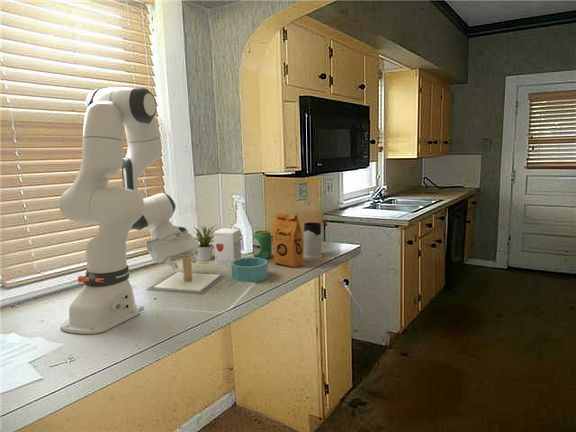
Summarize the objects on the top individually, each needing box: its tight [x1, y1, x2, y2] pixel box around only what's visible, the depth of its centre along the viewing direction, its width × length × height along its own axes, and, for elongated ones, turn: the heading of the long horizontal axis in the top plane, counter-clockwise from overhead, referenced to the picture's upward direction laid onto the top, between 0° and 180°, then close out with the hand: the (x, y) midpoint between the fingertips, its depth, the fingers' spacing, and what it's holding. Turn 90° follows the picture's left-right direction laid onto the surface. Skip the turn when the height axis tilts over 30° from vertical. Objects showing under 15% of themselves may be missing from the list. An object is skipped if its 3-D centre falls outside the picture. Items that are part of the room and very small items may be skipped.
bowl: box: [230, 256, 269, 283], centre depth 163 cm, size 14×14×6 cm
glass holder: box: [303, 221, 324, 259], centre depth 194 cm, size 9×14×15 cm, turn 147°
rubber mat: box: [145, 271, 227, 295], centre depth 156 cm, size 22×22×1 cm
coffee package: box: [272, 212, 304, 269], centre depth 178 cm, size 10×12×22 cm
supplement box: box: [213, 227, 242, 267], centre depth 181 cm, size 9×9×15 cm
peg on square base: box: [153, 255, 221, 292], centre depth 155 cm, size 18×18×10 cm
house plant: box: [192, 224, 219, 262], centre depth 189 cm, size 14×14×16 cm
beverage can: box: [253, 230, 273, 261], centre depth 190 cm, size 8×8×12 cm
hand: (185, 265), depth 156 cm, fingers open, 8 cm apart
